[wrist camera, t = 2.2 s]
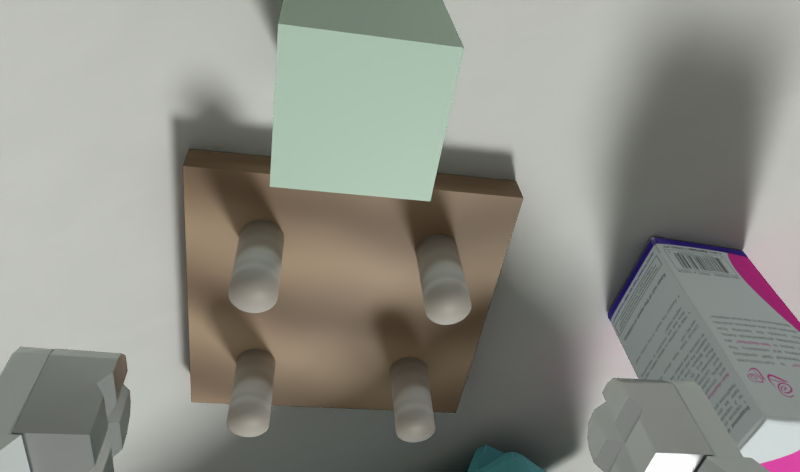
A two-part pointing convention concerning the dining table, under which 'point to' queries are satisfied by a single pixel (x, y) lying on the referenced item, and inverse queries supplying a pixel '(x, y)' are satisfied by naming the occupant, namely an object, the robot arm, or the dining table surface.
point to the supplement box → (717, 341)
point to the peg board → (336, 292)
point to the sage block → (363, 96)
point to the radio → (500, 461)
